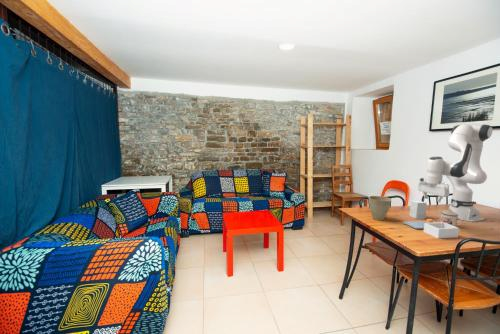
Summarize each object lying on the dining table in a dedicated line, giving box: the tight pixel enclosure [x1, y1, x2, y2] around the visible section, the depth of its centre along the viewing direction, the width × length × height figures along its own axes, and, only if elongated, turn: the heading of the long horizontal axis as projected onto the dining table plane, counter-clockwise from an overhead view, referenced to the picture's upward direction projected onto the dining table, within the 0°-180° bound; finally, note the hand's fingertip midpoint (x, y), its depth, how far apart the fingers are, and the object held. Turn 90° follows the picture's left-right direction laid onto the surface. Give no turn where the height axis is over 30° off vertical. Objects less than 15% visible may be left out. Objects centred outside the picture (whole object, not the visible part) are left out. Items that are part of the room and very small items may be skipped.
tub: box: [423, 221, 460, 239], centre depth 144 cm, size 14×10×6 cm
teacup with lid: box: [440, 208, 463, 227], centre depth 158 cm, size 12×9×12 cm
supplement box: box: [409, 200, 428, 220], centre depth 176 cm, size 7×7×13 cm
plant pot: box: [368, 195, 392, 221], centre depth 171 cm, size 15×15×16 cm
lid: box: [403, 218, 434, 230], centre depth 158 cm, size 17×11×5 cm, turn 97°
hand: (432, 200), depth 157 cm, fingers open, 8 cm apart
